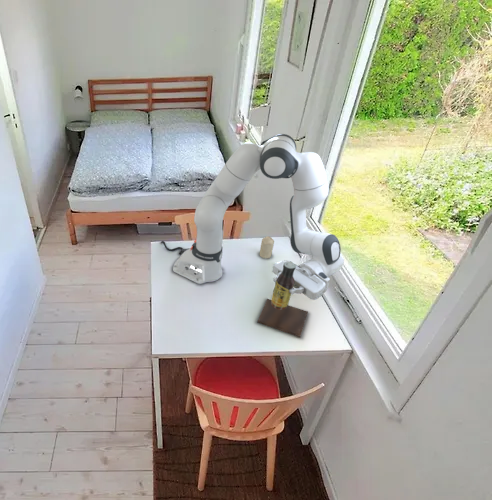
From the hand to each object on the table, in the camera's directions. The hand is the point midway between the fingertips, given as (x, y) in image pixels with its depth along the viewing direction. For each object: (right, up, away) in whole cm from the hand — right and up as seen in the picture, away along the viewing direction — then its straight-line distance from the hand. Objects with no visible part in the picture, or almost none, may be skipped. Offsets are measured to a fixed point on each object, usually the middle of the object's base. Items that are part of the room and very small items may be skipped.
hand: (282, 286), depth 139 cm
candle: (+8, +11, +44) cm, 46 cm away
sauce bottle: (+1, -8, +6) cm, 10 cm away
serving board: (+4, -13, +10) cm, 17 cm away
